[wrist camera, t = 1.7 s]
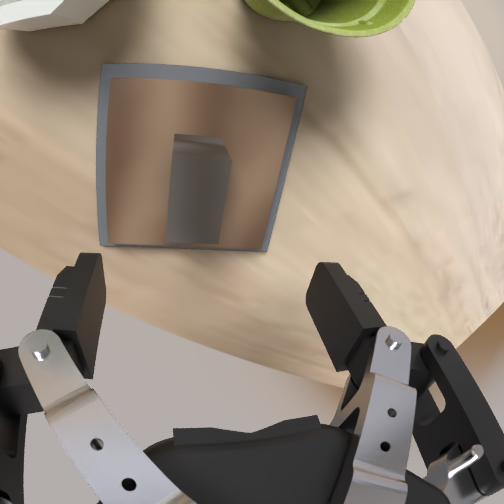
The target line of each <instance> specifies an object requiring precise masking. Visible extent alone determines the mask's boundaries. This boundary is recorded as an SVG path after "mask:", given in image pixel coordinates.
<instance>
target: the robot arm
mask: <svg viewBox="0 0 504 504" xmlns="http://www.w3.org/2000/svg"><path fill="white" fill-rule="evenodd" d="M364 293H365V292H364V291H363V289H362V288H361V286H360V285H359V284H358V283H357V282H356V281H355V280H354V279H353V278H351V277H350V276H349V275H347V274H346V273H345V271H344V270H343V268H342V267H341V266H340V264H339V263H331V262H320V263H318V264H317V266H316V268H315V271H314V274H313V277H312V279H311V282H310V285H309V287H308V290H307V293H306V306H307V308H308V311H309V313H310V315H311V317H312V319H313V321H314V324H315V326H316V328H317V330H318V332H319V334H320V336H321V339H322V341H323V343H324V345H325V347H326V350H327V352H328V354H329V356H330V358H331V360H332V363H333V365H334V367H335V369H336V372H339V371H345V370H348V371H349V373H350V375H349V376H348V378H347V380H346V383H345V386H344V389H343V393H342V396H341V399H340V402H339V405H338V408H337V411H336V414H335V416H334V418H333V420H332V422H331V424H330V425H326V424H320V422H319V419H318V416H317V415H314V416H309V417H302V418H296V419H290V420H284V421H282V422H279V423H277V424H274V425H272V426H269V427H267V428H264V429H262V430H259V431H256V432H253V433H244V432H237V431H230V430H223V429H217V428H181V429H180V428H174V429H173V436H174V437H172V438H169V439H165V440H162V441H160V442H157V443H155V444H153V445H151V446H149V447H148V448H146V449H145V450H143V451H142V450H141V449H140V448H139V446H138V445H137V444H136V443H135V442H134V441H133V439H132V438H131V437H130V436H129V435H128V433H127V432H126V431H125V430H124V429H123V427H122V426H121V425H120V423H119V422H118V421H117V420H116V418H115V417H114V416H113V414H112V413H111V412H110V410H109V409H108V408H107V407H106V405H105V404H104V402H103V401H102V399H101V398H100V397H99V395H98V394H97V393H96V392H95V390H94V389H91V388H90V387H89V386H88V384H87V383H86V381H85V380H84V378H85V379H93V374H94V366H95V360H96V352H97V346H98V340H99V335H100V329H101V324H102V319H103V313H104V308H105V303H106V286H105V278H104V270H103V262H102V256H101V254H100V253H80V254H79V256H78V259H77V261H76V264H75V266H74V267H72V266H66V267H65V268H64V269H63V270H62V271H61V272H60V273H59V274H58V275H57V277H56V279H55V282H54V284H53V288H52V289H51V292H50V294H49V297H48V299H47V302H46V304H45V307H44V310H43V312H42V315H41V318H40V321H39V323H38V326H37V329H36V330H35V331H32V332H31V333H29V334H27V335H26V336H25V337H24V338H23V339H22V341H21V342H20V345H19V346H18V347H14V348H8V349H2V350H0V504H24V494H23V492H24V491H23V472H24V447H25V434H26V423H27V414H29V413H35V412H42V411H45V417H46V419H47V421H48V423H49V425H50V426H51V428H52V430H53V432H54V433H55V435H56V437H57V439H58V440H59V442H60V444H61V445H62V447H63V448H64V450H65V451H66V453H67V455H68V456H69V458H70V459H71V461H72V462H73V464H74V465H75V467H76V468H77V469H78V471H79V472H80V474H81V475H82V477H83V478H84V479H85V481H86V482H87V483H88V485H89V486H90V487H91V489H92V490H93V491H94V493H95V494H96V495H97V496H98V498H99V499H100V501H99V502H98V503H97V504H474V503H476V502H478V501H480V500H482V499H484V498H486V497H488V496H490V495H492V494H494V493H496V492H497V491H499V490H501V489H503V488H504V434H503V431H502V429H501V428H500V426H499V424H498V422H497V420H496V418H495V416H494V414H493V412H492V410H491V408H490V407H489V405H488V403H487V401H486V399H485V397H484V396H483V394H482V392H481V391H480V389H479V387H478V385H477V384H476V382H475V380H474V379H473V377H472V375H471V373H470V372H469V370H468V368H467V367H466V365H465V364H464V362H463V360H462V359H461V357H460V356H459V354H458V352H457V351H456V349H455V348H454V346H453V345H452V343H451V342H450V341H449V340H448V339H446V338H445V337H443V336H441V335H436V334H435V335H431V336H430V337H429V338H428V339H427V341H426V342H425V343H424V344H422V343H415V342H410V340H409V338H408V337H407V336H406V335H405V334H404V333H403V332H402V331H401V330H399V329H397V328H394V327H390V326H386V324H385V323H384V321H383V320H382V318H381V317H380V315H379V313H378V312H377V310H376V309H375V307H374V306H373V304H372V303H371V302H369V298H368V297H367V295H366V294H364ZM435 381H436V383H437V385H438V387H439V389H440V391H441V392H442V394H443V396H444V398H445V402H446V405H445V409H444V411H443V412H442V413H440V411H439V409H438V407H437V405H436V403H435V401H434V399H433V397H432V395H431V394H430V392H429V390H428V388H429V387H430V386H431V385H432V384H433V383H434V382H435ZM412 434H413V436H414V439H415V441H416V443H417V446H418V448H419V451H420V453H421V455H422V458H423V460H424V463H425V465H426V468H427V476H425V477H424V478H423V479H422V478H420V477H418V476H416V475H415V474H413V473H412V472H410V471H408V470H407V469H406V467H407V461H408V456H409V450H410V444H411V438H412Z"/></svg>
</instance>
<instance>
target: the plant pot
mask: <svg viewBox="0 0 504 504" xmlns="http://www.w3.org/2000/svg"><path fill="white" fill-rule="evenodd" d="M244 1H245V2H246V3H247V4H248V5H249V6H250V7H251V8H252V9H253V10H254V11H255V12H257V13H259V14H260V15H262V16H265V17H267V18H270V19H274V20H279V21H296V22H298V23H300V24H302V25H305V26H307V27H309V28H312V29H314V30H317V31H320V32H324V33H327V34H332V35H337V36H344V37H369V36H374V35H378V34H381V33H384V32H386V31H388V30H390V29H392V28H394V27H395V26H397V25H398V24H399V23H401V22H402V21H403V20H404V19H405V18H406V17H407V15H408V14H409V12H410V11H411V9H412V7H413V5H414V2H415V0H244Z"/></svg>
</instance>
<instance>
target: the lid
mask: <svg viewBox="0 0 504 504" xmlns="http://www.w3.org/2000/svg"><path fill="white" fill-rule="evenodd" d="M296 100H297V98H295V97H292V96H288V95H283V94H278V93H273V92H268V91H262V90H257V89H251V88H244V87H238V86H231V85H224V84H216V83H207V82H197V81H186V80H173V79H155V78H111V82H110V91H109V102H108V116H107V134H106V215H107V234H108V243H110V244H136V245H162V246H188V247H213V248H238V249H261V248H262V244H263V240H264V236H265V231H266V227H267V223H268V219H269V215H270V210H271V206H272V202H273V198H274V194H275V189H276V185H277V181H278V177H279V173H280V168H281V164H282V160H283V156H284V151H285V147H286V143H287V138H288V134H289V130H290V126H291V121H292V117H293V113H294V108H295V104H296Z"/></svg>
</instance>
